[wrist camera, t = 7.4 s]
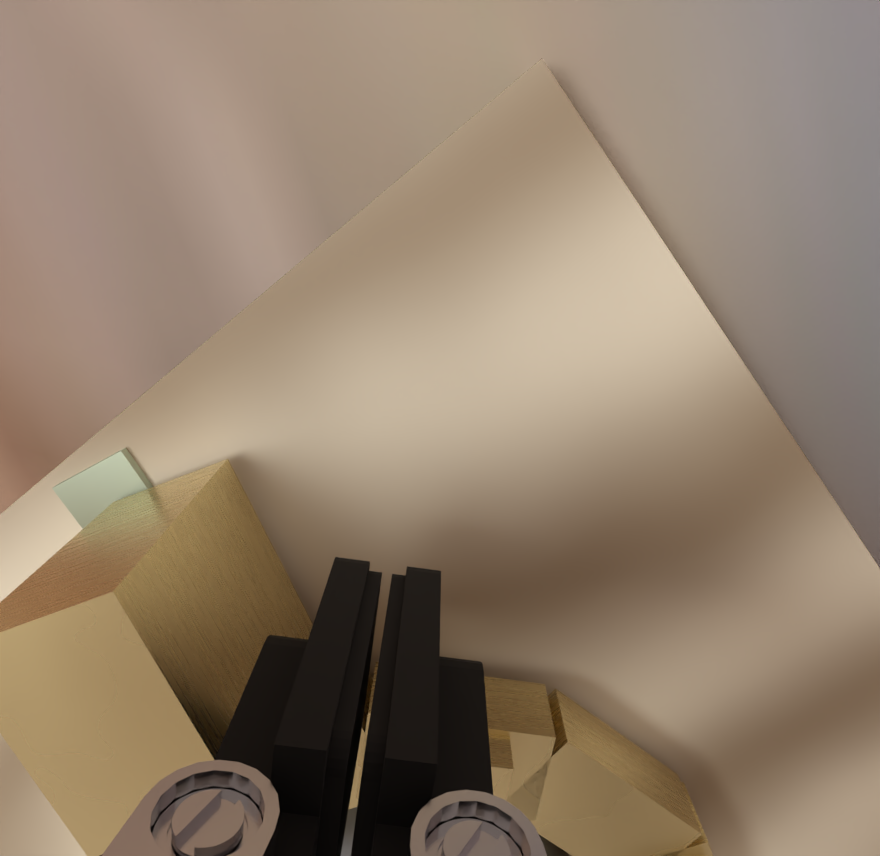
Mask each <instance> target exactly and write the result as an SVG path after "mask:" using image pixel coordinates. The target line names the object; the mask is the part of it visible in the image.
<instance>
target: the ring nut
mask: <svg viewBox="0 0 880 856" xmlns="http://www.w3.org/2000/svg"><path fill="white" fill-rule="evenodd" d="M312 626H313V623H312V621H311V619H310V617H309V615H308V613H307V611H306V609H305V607H304V605H303V604H302V602H301V600H300V598H299V596H298V594H297V592H296V590H295V588H294V586H293V584H292V582H291V580H290V578H289V576H288V574H287V572H286V570H285V569H284V567H283V565H282V563H281V561H280V559H279V557H278V555H277V553H276V551H275V549H274V547H273V545H272V543H271V541H270V539H269V537H268V535H267V533H266V532H265V530H264V528H263V526H262V524H261V522H260V520H259V518H258V516H257V514H256V512H255V510H254V508H253V506H252V504H251V502H250V500H249V498H248V497H247V495H246V493H245V491H244V489H243V487H242V485H241V483H240V481H239V479H238V477H237V475H236V473H235V471H234V469H233V467H232V465H231V463H230V461H229V460H228V459H225V460H223V461H220V462H218V463H215V464H212V465H210V466H207V467H204V468H202V469H199V470H196V471H194V472H191V473H189V474H186V475H183V476H181V477H178V478H175V479H173V480H170V481H167V482H165V483H162V484H160V485H157V486H154V487H152V488H149V489H146V490H144V491H141V492H138V493H136V494H133V495H130V496H128V497H125V498H123V499H120V500H117V501H115V502H113V503H112V504H110V505H109V506H108V507H107V508H106V509H105V510H104V511H103V512H101V513H100V514H99V515H98V516H97V517H96V518H95V519H94V520H92V521H91V522H90V523H89V524H88V525H87V526H86V527H85V528H83V529H82V530H81V531H80V532H79V533H78V534H77V535H76V536H74V537H73V538H72V539H71V540H70V541H69V542H68V543H66V544H65V545H64V546H63V547H62V548H61V549H60V550H59V551H57V552H56V553H55V554H54V555H53V556H52V557H51V558H50V559H48V560H47V561H46V562H45V563H44V564H43V565H42V566H41V567H39V568H38V569H37V570H36V571H35V572H34V573H33V574H32V575H30V576H29V577H28V578H27V579H26V580H25V581H24V582H23V583H21V584H20V585H19V586H18V587H17V588H16V589H15V590H14V591H12V592H11V593H10V594H9V595H8V596H7V597H6V598H5V599H3V600H2V601H1V602H0V734H1V735H2V737H3V738H4V739H5V741H6V742H7V744H8V745H9V746H10V748H11V749H12V751H13V752H14V753H15V755H16V756H17V758H18V759H19V761H20V762H21V763H22V765H23V766H24V768H25V769H26V770H27V772H28V773H29V775H30V776H31V777H32V779H33V780H34V782H35V783H36V784H37V786H38V787H39V789H40V790H41V792H42V793H43V794H44V796H45V797H46V799H47V800H48V801H49V803H50V804H51V806H52V807H53V808H54V810H55V811H56V813H57V814H58V815H59V817H60V818H61V820H62V821H63V823H64V824H65V825H66V827H67V828H68V830H69V831H70V832H71V834H72V835H73V837H74V838H75V839H76V841H77V842H78V844H79V845H80V846H81V848H82V849H83V851H84V852H85V854H86V855H87V856H100V855H102V854H103V853H104V852H105V850H106V849H107V847H108V846H109V845H110V843H111V842H112V840H113V839H114V838H115V836H116V835H117V834H118V832H119V831H120V829H121V828H122V827H123V825H124V824H125V823H126V821H127V820H128V818H129V817H130V816H131V814H132V813H133V811H134V810H135V809H136V807H137V806H138V805H139V803H140V802H141V800H142V799H143V798H144V796H145V795H146V794H147V793H148V792H149V791H150V790H151V789H152V788H153V787H154V786H155V785H156V784H157V783H158V782H159V781H160V780H161V779H163V778H165V777H166V776H168V775H169V774H171V773H173V772H174V771H176V770H177V769H180V768H183V767H186V766H189V765H192V764H194V763H197V762H204V761H213V760H214V759H215V757H216V755H217V752H218V750H219V748H220V745H221V743H222V741H223V738H224V736H225V734H226V731H227V729H228V727H229V724H230V722H231V720H232V717H233V715H234V713H235V710H236V708H237V706H238V703H239V701H240V698H241V696H242V694H243V691H244V689H245V687H246V684H247V682H248V680H249V677H250V675H251V673H252V670H253V668H254V666H255V663H256V661H257V659H258V656H259V654H260V652H261V649H262V647H263V645H264V642H265V640H266V639H267V637H268V636H269V635H276V636H284V637H292V638H300V639H309V635H310V632H311V629H312ZM377 669H378V662H376V664H375V671H374V677H373V679H372V677H371V675H370V673H369V678H368V686H367V694H366V701H365V709H364V717H363V724H362V730H361V737H360V743H359V749H358V755H357V761H356V767H355V773H354V779H353V785H352V791H351V797H350V803H349V809H352V808H355V807H357V805H358V798H359V790H360V783H361V776H362V768H363V761H364V754H365V747H366V741H367V734H368V727H369V721H370V714H371V708H372V701H373V695H374V688H375V682H376V675H377ZM484 681H485V694H486V707H487V720H488V733H489V746H490V759H491V772H492V785H493V795H494V796H497V797H499V798H502V799H504V800H506V801H507V802H509V803H510V804H512V805H513V806H515V807H516V808H517V809H519V810H520V811H522V813H523V814H524V815H525V816H526V817H527V818H528V819H529V821H530V822H531V823H532V824H533V825H534V826H535V828H536V830H537V832H538V834H539V835H541V836H542V837H544V838H546V839H547V840H549V841H550V842H552V843H553V844H555V845H556V846H558V847H559V848H561V849H563V850H564V851H566V852H567V853H569V854H570V855H572V856H713V854H712V851H711V848H710V845H709V842H708V840H707V838H706V835H705V833H704V830H703V828H702V825H701V823H700V821H699V818H698V816H697V813H696V811H695V808H694V806H693V804H692V801H691V799H690V796H689V794H688V791H687V789H686V787H685V784H684V782H681V781H680V779H679V776H678V774H677V773H675V772H674V771H672V770H671V769H670V768H668V767H667V766H665V765H664V764H662V763H661V762H660V761H658V760H657V759H655V758H654V757H653V756H651V755H650V754H648V753H647V752H645V751H644V750H643V749H641V748H640V747H638V746H637V745H635V744H634V743H633V742H631V741H630V740H628V739H627V738H625V737H624V736H623V735H621V734H620V733H618V732H617V731H616V730H614V729H613V728H611V727H610V726H608V725H607V724H606V723H604V722H603V721H601V720H600V719H598V718H597V717H596V716H594V715H593V714H591V713H590V712H589V711H587V710H586V709H584V708H583V707H581V706H580V705H579V704H577V703H576V702H574V701H573V700H571V699H570V698H569V697H567V696H566V695H564V694H563V693H562V692H560V691H559V690H557V689H556V688H555V689H554V690H553V691H552V692H551V693H550V694H549V695H548V696H547V692H546V687H545V684H539V683H532V682H524V681H517V680H509V679H502V678H494V677H487V676H484Z"/></svg>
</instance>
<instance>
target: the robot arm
mask: <svg viewBox="0 0 880 856" xmlns="http://www.w3.org/2000/svg"><path fill="white" fill-rule="evenodd" d="M369 569H370V561H363V560H355V559H348V558H340V557H335V559H334V562H333V565H332V568H331V571H330V574H329V577H328V580H327V584H326V587H325V590H324V593H323V596H322V599H321V602H320V605H319V608H318V611H317V614H316V617H315V620H314V623H313V626H312V629H311V632H310V635H309V639H300V638H292V637H284V636H276V635H269V636H268V637H267V639H266V640H265V642H264V645H263V647H262V649H261V652H260V654H259V656H258V659H257V661H256V663H255V666H254V668H253V670H252V673H251V675H250V677H249V680H248V682H247V684H246V687H245V689H244V691H243V694H242V696H241V698H240V701H239V703H238V706H237V708H236V710H235V713H234V715H233V717H232V720H231V722H230V724H229V727H228V729H227V731H226V734H225V736H224V738H223V741H222V743H221V745H220V748H219V750H218V752H217V755H216V757H215V759H214V760H213V761H204V762H197V763H194V764H192V765H189V766H186V767H183V768H180V769H177V770H176V771H174V772H173V773H171V774H169V775H168V776H166V777H165V778H163V779H161V780H160V781H159V782H158V783H157V784H156V785H155V786H154V787H153V788H152V789H151V790H150V791H149V792H148V793H147V794H146V795H145V796H144V798H143V799H142V800H141V802H140V803H139V805H138V806H137V807H136V809H135V810H134V811H133V813H132V814H131V816H130V817H129V818H128V820H127V821H126V823H125V824H124V825H123V827H122V828H121V829H120V831H119V832H118V834H117V835H116V836H115V838H114V839H113V840H112V842H111V843H110V845H109V846H108V847H107V849H106V850H105V852H104V853H103V854H102V855H100V856H341V851H342V845H343V839H344V833H345V827H346V821H347V815H348V809H349V803H350V797H351V791H352V785H353V779H354V773H355V767H356V761H357V755H358V749H359V743H360V737H361V730H362V724H363V717H364V709H365V701H366V694H367V686H368V678H369V671H370V663H371V655H372V648H373V640H374V632H375V625H376V617H377V609H378V602H379V594H380V586H381V579H382V572H375V571H369ZM440 606H441V571H439V570H431V569H424V568H416V567H409V566H407V569H406V575H398V574H392V578H391V585H390V591H389V598H388V604H387V611H386V617H385V624H384V630H383V637H382V643H381V649H380V656H379V662H378V669H377V675H376V682H375V688H374V695H373V701H372V708H371V714H370V721H369V727H368V734H367V741H366V747H365V754H364V761H363V768H362V776H361V783H360V790H359V798H358V805H357V813H356V820H355V828H354V835H353V843H352V850H351V856H547V855H546V851H545V848H544V845H543V843H542V841H541V838H540V836H539V834H538V832H537V830H536V828H535V826H534V825H533V824H532V823H531V822H530V821H529V819H528V818H527V817H526V816H525V815H524V814H523V813H522V811H520V810H519V809H517V808H516V807H515V806H513V805H512V804H510V803H509V802H507V801H506V800H504V799H502V798H499V797H497V796H494V795H493V785H492V772H491V759H490V746H489V733H488V720H487V707H486V694H485V681H484V670H483V664H482V662H480V661H472V660H465V659H457V658H449V657H441V656H440Z"/></svg>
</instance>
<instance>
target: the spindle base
mask: <svg viewBox="0 0 880 856" xmlns="http://www.w3.org/2000/svg"><path fill="white" fill-rule="evenodd" d="M225 459H228V460H229V461H230V463H231V465H232V467H233V469H234V471H235V473H236V475H237V477H238V479H239V481H240V483H241V485H242V487H243V489H244V491H245V493H246V495H247V497H248V498H249V500H250V502H251V504H252V506H253V508H254V510H255V512H256V514H257V516H258V518H259V520H260V522H261V524H262V526H263V528H264V530H265V532H266V533H267V535H268V537H269V539H270V541H271V543H272V545H273V547H274V549H275V551H276V553H277V555H278V557H279V559H280V561H281V563H282V565H283V567H284V569H285V570H286V572H287V574H288V576H289V578H290V580H291V582H292V584H293V586H294V588H295V590H296V592H297V594H298V596H299V598H300V600H301V602H302V604H303V605H304V607H305V609H306V611H307V613H308V615H309V617H310V619H311V621H312V623H314V620H315V617H316V614H317V611H318V608H319V605H320V602H321V599H322V596H323V593H324V590H325V587H326V584H327V580H328V577H329V574H330V571H331V568H332V565H333V562H334V559H335V557H340V558H348V559H355V560H363V561H370V569H369V571H375V572H382V579H381V586H380V594H379V602H378V609H377V617H376V625H375V632H374V640H373V648H372V655H371V663H370V671H369V673H370V675H371V677H372V679H373V677H374V671H375V664H376V662H379V656H380V649H381V643H382V637H383V630H384V624H385V617H386V611H387V604H388V598H389V591H390V585H391V578H392V574H398V575H406V569H407V566H409V567H416V568H424V569H431V570H439V571H441V606H440V656H441V657H449V658H457V659H465V660H472V661H480V662H482V664H483V670H484V676H487V677H494V678H502V679H509V680H517V681H524V682H532V683H539V684H545V687H546V692H547V696H548V695H549V694H550V693H551V692H552V691H553V690H554V689H555V688H556V689H557V690H559V691H560V692H562V693H563V694H564V695H566V696H567V697H569V698H570V699H571V700H573V701H574V702H576V703H577V704H579V705H580V706H581V707H583V708H584V709H586V710H587V711H589V712H590V713H591V714H593V715H594V716H596V717H597V718H598V719H600V720H601V721H603V722H604V723H606V724H607V725H608V726H610V727H611V728H613V729H614V730H616V731H617V732H618V733H620V734H621V735H623V736H624V737H625V738H627V739H628V740H630V741H631V742H633V743H634V744H635V745H637V746H638V747H640V748H641V749H643V750H644V751H645V752H647V753H648V754H650V755H651V756H653V757H654V758H655V759H657V760H658V761H660V762H661V763H662V764H664V765H665V766H667V767H668V768H670V769H671V770H672V771H674V772H675V773H677V774H678V776H679V779H680V781H681V782H684V784H685V787H686V789H687V791H688V794H689V796H690V799H691V801H692V804H693V806H694V808H695V811H696V813H697V816H698V818H699V821H700V823H701V825H702V828H703V830H704V833H705V835H706V838H707V840H708V842H709V845H710V848H711V851H712V854H713V856H880V568H879V566H878V565H877V563H876V562H875V560H874V559H873V557H872V556H871V554H870V553H869V551H868V550H867V548H866V547H865V545H864V544H863V542H862V541H861V539H860V538H859V536H858V535H857V533H856V532H855V530H854V529H853V527H852V526H851V524H850V523H849V521H848V520H847V518H846V517H845V515H844V514H843V512H842V511H841V509H840V508H839V506H838V505H837V503H836V502H835V500H834V499H833V497H832V495H831V494H830V492H829V491H828V489H827V488H826V486H825V485H824V483H823V482H822V480H821V479H820V477H819V476H818V474H817V473H816V471H815V470H814V468H813V467H812V465H811V464H810V462H809V461H808V459H807V458H806V456H805V455H804V453H803V452H802V450H801V449H800V447H799V446H798V444H797V443H796V441H795V440H794V438H793V437H792V435H791V434H790V432H789V431H788V429H787V428H786V426H785V424H784V423H783V421H782V420H781V418H780V417H779V415H778V414H777V412H776V411H775V409H774V408H773V406H772V405H771V403H770V402H769V400H768V399H767V397H766V396H765V394H764V393H763V391H762V390H761V388H760V387H759V385H758V384H757V382H756V381H755V379H754V378H753V376H752V375H751V373H750V372H749V370H748V369H747V367H746V366H745V364H744V363H743V361H742V360H741V358H740V357H739V355H738V353H737V352H736V350H735V349H734V347H733V346H732V344H731V343H730V341H729V340H728V338H727V337H726V335H725V334H724V332H723V331H722V329H721V328H720V326H719V325H718V323H717V322H716V320H715V319H714V317H713V316H712V314H711V313H710V311H709V310H708V308H707V307H706V305H705V304H704V302H703V301H702V299H701V298H700V296H699V295H698V293H697V292H696V290H695V289H694V287H693V286H692V284H691V282H690V281H689V279H688V278H687V276H686V275H685V273H684V272H683V270H682V269H681V267H680V266H679V264H678V263H677V261H676V260H675V258H674V257H673V255H672V254H671V252H670V251H669V249H668V248H667V246H666V245H665V243H664V242H663V240H662V239H661V237H660V236H659V234H658V233H657V231H656V230H655V228H654V227H653V225H652V224H651V222H650V221H649V219H648V218H647V216H646V215H645V213H644V211H643V210H642V208H641V207H640V205H639V204H638V202H637V201H636V199H635V198H634V196H633V195H632V193H631V192H630V190H629V189H628V187H627V186H626V184H625V183H624V181H623V180H622V178H621V177H620V175H619V174H618V172H617V171H616V169H615V168H614V166H613V165H612V163H611V162H610V160H609V159H608V157H607V156H606V154H605V153H604V151H603V150H602V148H601V147H600V145H599V144H598V142H597V140H596V139H595V137H594V136H593V134H592V133H591V131H590V130H589V128H588V127H587V125H586V124H585V122H584V121H583V119H582V118H581V116H580V115H579V113H578V112H577V110H576V109H575V107H574V106H573V104H572V103H571V101H570V100H569V98H568V97H567V95H566V94H565V92H564V91H563V89H562V88H561V86H560V85H559V83H558V82H557V80H556V79H555V77H554V76H553V74H552V73H551V71H550V69H549V68H548V66H547V65H546V63H545V62H544V60H543V59H540V60H539V61H538V62H537V63H536V64H535V65H533V66H532V67H531V68H530V69H529V70H527V71H526V72H525V73H524V74H523V75H521V76H520V77H519V78H518V79H517V80H516V81H514V82H513V83H512V84H511V85H510V86H508V87H507V88H506V89H505V90H504V91H502V92H501V93H500V94H499V95H498V96H497V97H495V98H494V99H493V100H492V101H491V102H489V103H488V104H487V105H486V106H485V107H483V108H482V109H481V110H480V111H479V112H478V113H476V114H475V115H474V116H473V117H472V118H470V119H469V120H468V121H467V122H466V123H464V124H463V125H462V126H461V127H460V128H459V129H457V130H456V131H455V132H454V133H453V134H451V135H450V136H449V137H448V138H447V139H445V140H444V141H443V142H442V143H441V144H440V145H438V146H437V147H436V148H435V149H434V150H432V151H431V152H430V153H429V154H428V155H426V156H425V157H424V158H423V159H422V160H421V161H419V162H418V163H417V164H416V165H415V166H413V167H412V168H411V169H410V170H409V171H407V172H406V173H405V174H404V175H403V176H402V177H400V178H399V179H398V180H397V181H396V182H394V183H393V184H392V185H391V186H390V187H389V188H387V189H386V190H385V191H384V192H383V193H381V194H380V195H379V196H378V197H377V198H375V199H374V200H373V201H372V202H371V203H370V204H368V205H367V206H366V207H365V208H364V209H362V210H361V211H360V212H359V213H358V214H356V215H355V216H354V217H353V218H352V219H351V220H349V221H348V222H347V223H346V224H345V225H343V226H342V227H341V228H340V229H339V230H337V231H336V232H335V233H334V234H333V235H332V236H330V237H329V238H328V239H327V240H326V241H324V242H323V243H322V244H321V245H320V246H318V247H317V248H316V249H315V250H314V251H313V252H311V253H310V254H309V255H308V256H307V257H305V258H304V259H303V260H302V261H301V262H299V263H298V264H297V265H296V266H295V267H294V268H292V269H291V270H290V271H289V272H288V273H286V274H285V275H284V276H283V277H282V278H280V279H279V280H278V281H277V282H276V283H275V284H273V285H272V286H271V287H270V288H269V289H267V290H266V291H265V292H264V293H263V294H261V295H260V296H259V297H258V298H257V299H256V300H254V301H253V302H252V303H251V304H250V305H248V306H247V307H246V308H245V309H244V310H242V311H241V312H240V313H239V314H238V315H237V316H235V317H234V318H233V319H232V320H231V321H229V322H228V323H227V324H226V325H225V326H223V327H222V328H221V329H220V330H219V331H218V332H216V333H215V334H214V335H213V336H212V337H210V338H209V339H208V340H207V341H206V342H204V343H203V344H202V345H201V346H200V347H199V348H197V349H196V350H195V351H194V352H193V353H191V354H190V355H189V356H188V357H187V358H185V359H184V360H183V361H182V362H181V363H180V364H178V365H177V366H176V367H175V368H174V369H172V370H171V371H170V372H169V373H168V374H166V375H165V376H164V377H163V378H162V379H161V380H159V381H158V382H157V383H156V384H155V385H153V386H152V387H151V388H150V389H149V390H147V391H146V392H145V393H144V394H143V395H142V396H140V397H139V398H138V399H137V400H136V401H134V402H133V403H132V404H131V405H130V406H128V407H127V408H126V409H125V410H124V411H123V412H121V413H120V414H119V415H118V416H117V417H115V418H114V419H113V420H112V421H111V422H109V423H108V424H107V425H106V426H105V427H104V428H102V429H101V430H100V431H99V432H98V433H96V434H95V435H94V436H93V437H92V438H90V439H89V440H88V441H87V442H86V443H85V444H83V445H82V446H81V447H80V448H79V449H77V450H76V451H75V452H74V453H73V454H71V455H70V456H69V457H68V458H67V459H66V460H64V461H63V462H62V463H61V464H60V465H58V466H57V467H56V468H55V469H54V470H52V471H51V472H50V473H49V474H48V475H47V476H45V477H44V478H43V479H42V480H41V481H39V482H38V483H37V484H36V485H35V486H33V487H32V488H31V489H30V490H29V491H28V492H26V493H25V494H24V495H23V496H22V497H20V498H19V499H18V500H17V501H16V502H14V503H13V504H12V505H11V506H10V507H9V508H7V509H6V510H5V511H4V512H3V513H1V514H0V602H1V601H2V600H3V599H5V598H6V597H7V596H8V595H9V594H10V593H11V592H12V591H14V590H15V589H16V588H17V587H18V586H19V585H20V584H21V583H23V582H24V581H25V580H26V579H27V578H28V577H29V576H30V575H32V574H33V573H34V572H35V571H36V570H37V569H38V568H39V567H41V566H42V565H43V564H44V563H45V562H46V561H47V560H48V559H50V558H51V557H52V556H53V555H54V554H55V553H56V552H57V551H59V550H60V549H61V548H62V547H63V546H64V545H65V544H66V543H68V542H69V541H70V540H71V539H72V538H73V537H74V536H76V535H77V534H78V533H79V532H80V531H81V530H82V529H83V528H85V527H86V526H87V525H88V524H89V523H90V522H91V521H92V520H94V519H95V518H96V517H97V516H98V515H99V514H100V513H101V512H103V511H104V510H105V509H106V508H107V507H108V506H109V505H110V504H112V503H113V502H115V501H117V500H120V499H123V498H125V497H128V496H130V495H133V494H136V493H138V492H141V491H144V490H146V489H149V488H152V487H154V486H157V485H160V484H162V483H165V482H167V481H170V480H173V479H175V478H178V477H181V476H183V475H186V474H189V473H191V472H194V471H196V470H199V469H202V468H204V467H207V466H210V465H212V464H215V463H218V462H220V461H223V460H225ZM356 813H357V807H355V808H352V809H348V815H347V821H346V827H345V833H344V839H343V845H342V851H341V856H351V850H352V843H353V835H354V828H355V820H356ZM539 836H540V838H541V841H542V843H543V845H544V848H545V851H546V855H547V856H572V855H570V854H569V853H567V852H566V851H564V850H563V849H561V848H559V847H558V846H556V845H555V844H553V843H552V842H550V841H549V840H547V839H546V838H544V837H542V836H541V835H539ZM0 856H87V855H86V854H85V852H84V851H83V849H82V848H81V846H80V845H79V844H78V842H77V841H76V839H75V838H74V837H73V835H72V834H71V832H70V831H69V830H68V828H67V827H66V825H65V824H64V823H63V821H62V820H61V818H60V817H59V815H58V814H57V813H56V811H55V810H54V808H53V807H52V806H51V804H50V803H49V801H48V800H47V799H46V797H45V796H44V794H43V793H42V792H41V790H40V789H39V787H38V786H37V784H36V783H35V782H34V780H33V779H32V777H31V776H30V775H29V773H28V772H27V770H26V769H25V768H24V766H23V765H22V763H21V762H20V761H19V759H18V758H17V756H16V755H15V753H14V752H13V751H12V749H11V748H10V746H9V745H8V744H7V742H6V741H5V739H4V738H3V737H2V735H1V734H0Z"/></svg>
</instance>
